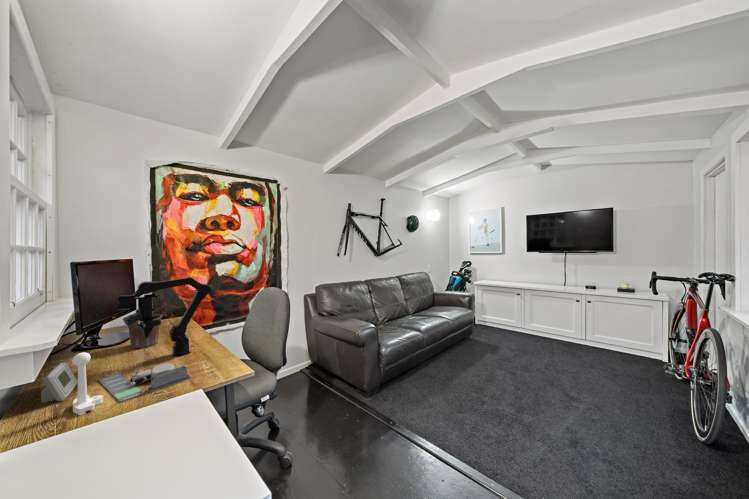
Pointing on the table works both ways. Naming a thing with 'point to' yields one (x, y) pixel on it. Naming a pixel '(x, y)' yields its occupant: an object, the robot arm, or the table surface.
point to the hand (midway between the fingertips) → (146, 337)
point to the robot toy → (150, 373)
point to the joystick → (84, 387)
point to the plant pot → (138, 337)
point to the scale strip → (120, 387)
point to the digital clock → (58, 383)
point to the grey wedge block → (168, 378)
